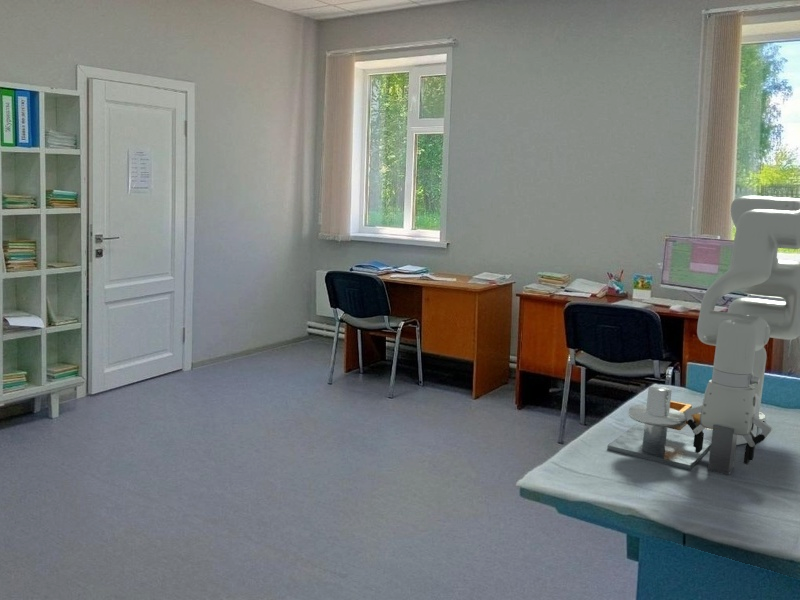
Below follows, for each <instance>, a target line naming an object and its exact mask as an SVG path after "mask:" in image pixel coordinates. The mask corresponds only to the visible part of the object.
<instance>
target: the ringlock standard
mask: <svg viewBox="0 0 800 600" xmlns="http://www.w3.org/2000/svg"><path fill="white" fill-rule="evenodd" d="M692 406H693V405H692V404H689V403H683V402H678V401H674V400H672V389H671V388H668V387H664V386H659V385H652V386H649V387H648V389H647V399H646V404H635V405H632V406H630V407H629V408H628V417H629V418H631V419H632V420H634V421H636V422H639V423H642V424H644V425H642V424H638V423H636V424H634V425H633V426H631V427H630V428H629V429H628V430H626V431H624V432H623V433H622V434H621V435H619V436H618V437H617V438H615V439H614V440H613V441H612V442H610V443H609V444H608V445H607V448H606V449H607V450H609V451H611V452H612V451H613V452H616V453H621V454H623V455H624V454H625V455H629V456H631V457H637V458H641V459H645V460H648V461H652V462H657V463H660V464H664V465H668V466H673V467H675V468H676V467H678V468H680V469H685V470H688V471H691V470H692V469H693V468H694V467H695V466H696V464H698V462H699V461H700V460H701V459H703V457H704V455H706V453H707V452H708V451H710V449H711V440H709V439H705V438H703V446H702V450H701V451H700V452H699V453H695V449H696V447H693V444H694V436H692V435H687V434H683V433H678V432H674V431H669V430H668V429H672V430H675V431H681V430H682V429H684V428H685V427H686V425H688V424H687V420H686V418H685V415H684V411H685V410H686V409H690V408H693V407H692ZM700 414H701V413H697V414H693V415H692V416H693V419H694V420H695V421H696V423H697V424H698V425H699V424H700ZM688 426H689V425H688ZM705 429H707V430H711V431H713V430H712V429H708V428H705Z"/></svg>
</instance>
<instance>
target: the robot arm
mask: <svg viewBox="0 0 800 600" xmlns="http://www.w3.org/2000/svg"><path fill="white" fill-rule="evenodd" d="M730 217H731V220H732V222H733V224H734V227H735V233H734V239H733V245H732V246H733V247H732V251H731V257H730V262H729V263H730V264H729V268H728V270H727V271H726V272H723V274H721V275H720V276H718V277H717V278H716V279H715V280H714V281H713V282H712V283H711V284H710V285H709V286H708V288H707V289H706V291H705V293H704V294H703V297H702V300H701V304H700V308H699V309H700V310H699V316H698V320H697V326H696V327H697V329H696V334H697V338H698V340H699V341H700V342H701V343H703V344H705V345H709V346H715V350H714V351H715V352H714V359H713V368H712V375H711V377H712V378H711V379H710V380H708V382H707V386H706V388H705V392H704V395H703V398H702V405H698V406H694V407H692V408H690V409H686V410H685V411H684V415H685V418H686V420H687V424H688V427H689V428H690V430H692V432H693V434H694V436H693V437H694V444H693V447H696V449H695V453H699V452H700V451H701V450H702V446H703V439H705V437H704V436H705V435H704V434H705V432H704V430H705V429H706V428H708V429H707V430H710V429H712V430H711V431H713V425H717V426H722V427H727V428H731V429H734V434H736V435H741V436H743V437H744V438H745V440H746V441H747V443H746V445H745V447H744V457H743V462H742V463H743V464H744V465H748V464H749V463H750V461H754V460H753V459H754V456H755V448H756V446H757V445H758V444H760V443H762V442H763V441H764V440H765V439H766V437H768V435H769V434H770V433H771V432H772V430H773V428H772V426H771V425H769V424H768V423H766V415H765V414H764V413H763V412H761V409H760V410H759V417H756V416H755V407H756V396H755V393H756V394H757V395H758V396H759V397H760V405H762V396H763V395H762V394H763V387H764V379H765V371H766V365H767V351H766V348H765V346H766V345H768V342H769V340H770V338H773V339H779V340H795V339H797V338H799V336H800V262H799V261H795V260H787V259H785V260H784V259H778V249H786V250H787V249H788V250H800V198H798V197H797V198H795V197H778V196H768V195H767V196H765V195H764V196H761V195H744V196H739V197H736V198H734V200H733V201H732V202H731V204H730ZM736 291H740V292H741V293H743V294H744V295H749V296H750V295H751V296H758V297H764V299H763V298H755V297H739V298H736V299H734V300H732V301H731V302H730V303H729V306H728V308H727V311H719V310H718V311H717V310H716V311H715V307H716V304H717V303H718V302H719V300H721V298H723V297H724V296H726V295H728V294H731V293H732V292H736ZM765 298H766V299H765ZM767 298H774V299H782V300H772V299H767ZM697 413H699V414H700V424H699V425H698V424H697V423H696V421H695V420H694V419H693V416H692V415H693V414H697ZM763 421H764V422H763ZM754 424H755V425H756V426H757V428H758V429H761V432H760V433H759V434H757V435H756V437H755V436H754V434H753V433H752V430H753V428H754Z"/></svg>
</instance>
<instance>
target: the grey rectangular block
mask: <svg viewBox="0 0 800 600" xmlns="http://www.w3.org/2000/svg"><path fill="white" fill-rule="evenodd" d="M710 441H711V448H710V449H709V458H708V467H707V471H709V472H713V473H717V474H721V475H725V476H729V475H730V474H731V472H732V471H733V469H734V466H735V456H736V448H737V445H736V442H737V435H736V434H734V429H731V428H727V427H722V426H717V425H713V430H712V435H711V440H710Z"/></svg>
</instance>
